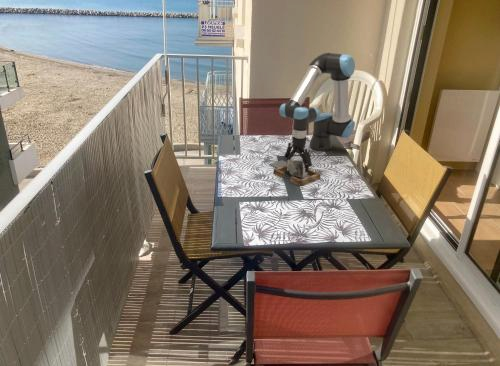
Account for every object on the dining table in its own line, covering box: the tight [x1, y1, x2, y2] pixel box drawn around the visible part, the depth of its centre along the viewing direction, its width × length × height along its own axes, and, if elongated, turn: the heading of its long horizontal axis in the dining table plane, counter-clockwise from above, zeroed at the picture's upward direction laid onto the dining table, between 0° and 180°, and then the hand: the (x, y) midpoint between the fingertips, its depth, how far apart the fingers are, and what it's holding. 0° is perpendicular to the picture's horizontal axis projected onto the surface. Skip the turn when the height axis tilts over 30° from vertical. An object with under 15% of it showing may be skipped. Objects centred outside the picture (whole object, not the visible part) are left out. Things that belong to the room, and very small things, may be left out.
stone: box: [288, 160, 304, 179], centre depth 232 cm, size 10×10×10 cm
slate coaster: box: [268, 160, 287, 169], centre depth 248 cm, size 11×11×1 cm
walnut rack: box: [272, 165, 322, 187], centre depth 233 cm, size 16×21×3 cm
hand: (296, 173), depth 233 cm, fingers closed on stone, 11 cm apart
